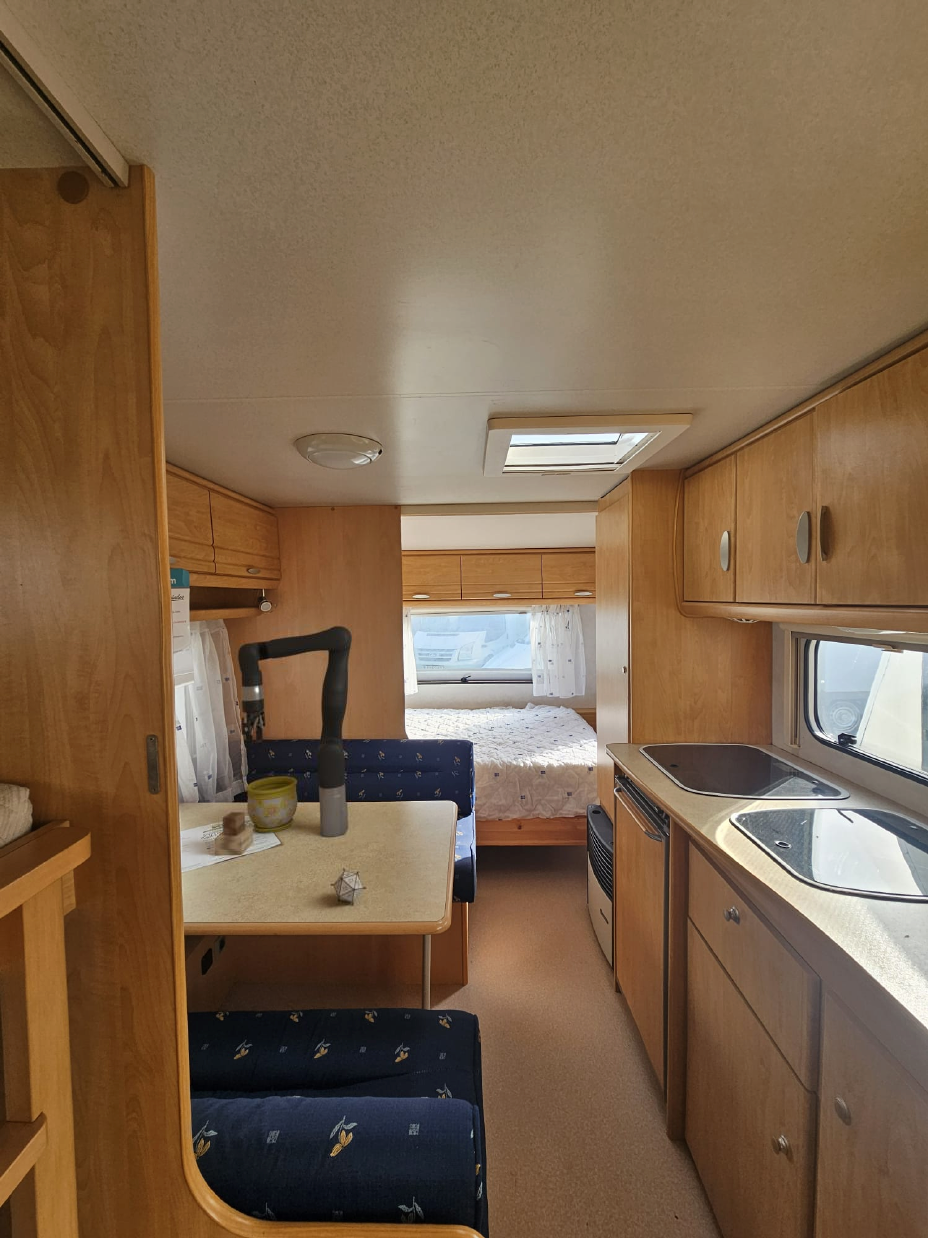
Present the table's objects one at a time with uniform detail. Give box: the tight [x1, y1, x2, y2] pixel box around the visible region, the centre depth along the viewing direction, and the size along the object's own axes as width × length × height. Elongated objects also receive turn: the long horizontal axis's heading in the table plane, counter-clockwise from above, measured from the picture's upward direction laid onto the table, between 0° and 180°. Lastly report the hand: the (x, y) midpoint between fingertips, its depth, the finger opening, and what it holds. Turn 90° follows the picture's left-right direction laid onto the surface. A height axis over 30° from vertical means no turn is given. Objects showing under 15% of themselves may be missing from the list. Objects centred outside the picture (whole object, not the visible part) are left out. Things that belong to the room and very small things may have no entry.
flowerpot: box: [246, 775, 298, 834], centre depth 198 cm, size 18×18×16 cm
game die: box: [329, 867, 367, 906], centre depth 143 cm, size 9×8×10 cm
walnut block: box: [222, 811, 246, 836], centre depth 179 cm, size 5×5×6 cm
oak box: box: [214, 826, 254, 857], centre depth 179 cm, size 9×9×6 cm
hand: (254, 742), depth 189 cm, fingers open, 8 cm apart
